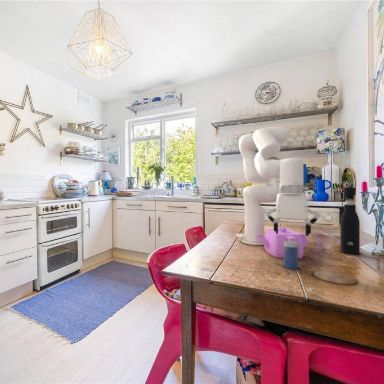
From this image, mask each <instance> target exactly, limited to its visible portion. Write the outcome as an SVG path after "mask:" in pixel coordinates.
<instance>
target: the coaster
mask: <svg viewBox="0 0 384 384" xmlns="http://www.w3.org/2000/svg"><path fill="white" fill-rule="evenodd" d="M313 276H314V277H315V278H317V279H319V280H321V281H324V282H327V283H331V284H336V285H337V284H338V285H346V286H348V285H349V286H351V285H355V284H356V283H357V279H355V278H354V277H353V276H350V275H347V274H344V273H340V272H337V271H329V270H317V271H314V272H313Z"/></svg>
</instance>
